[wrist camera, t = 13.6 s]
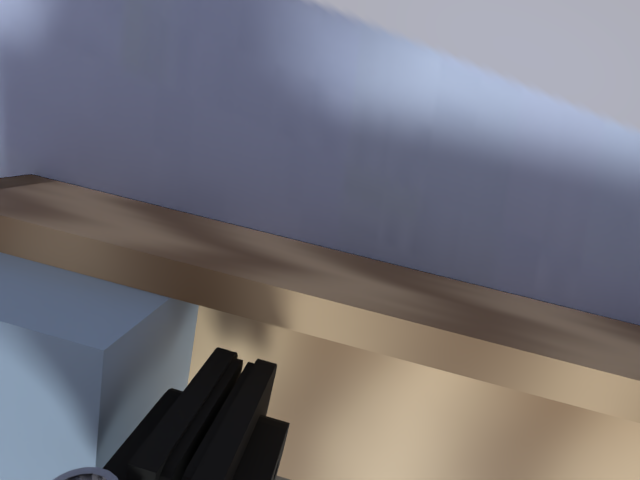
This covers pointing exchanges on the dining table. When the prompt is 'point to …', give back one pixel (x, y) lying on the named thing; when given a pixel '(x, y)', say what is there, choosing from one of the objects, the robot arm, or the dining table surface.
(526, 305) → the box
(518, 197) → the dining table surface
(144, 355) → the block
